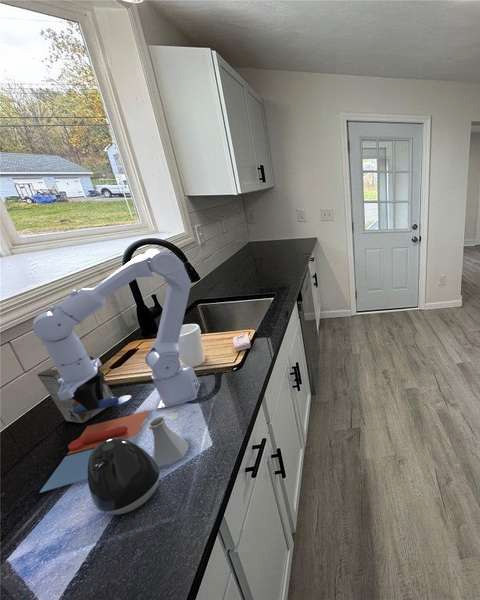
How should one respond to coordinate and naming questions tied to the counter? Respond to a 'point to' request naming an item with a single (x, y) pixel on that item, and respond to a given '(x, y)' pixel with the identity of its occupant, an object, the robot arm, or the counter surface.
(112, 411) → the counter surface
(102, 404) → the blue spoon
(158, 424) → the flask
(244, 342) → the soap bar
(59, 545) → the counter surface
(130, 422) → the terracotta mat
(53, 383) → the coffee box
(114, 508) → the black rounded cone
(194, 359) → the foam cup
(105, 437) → the red spoon
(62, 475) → the blue mat
